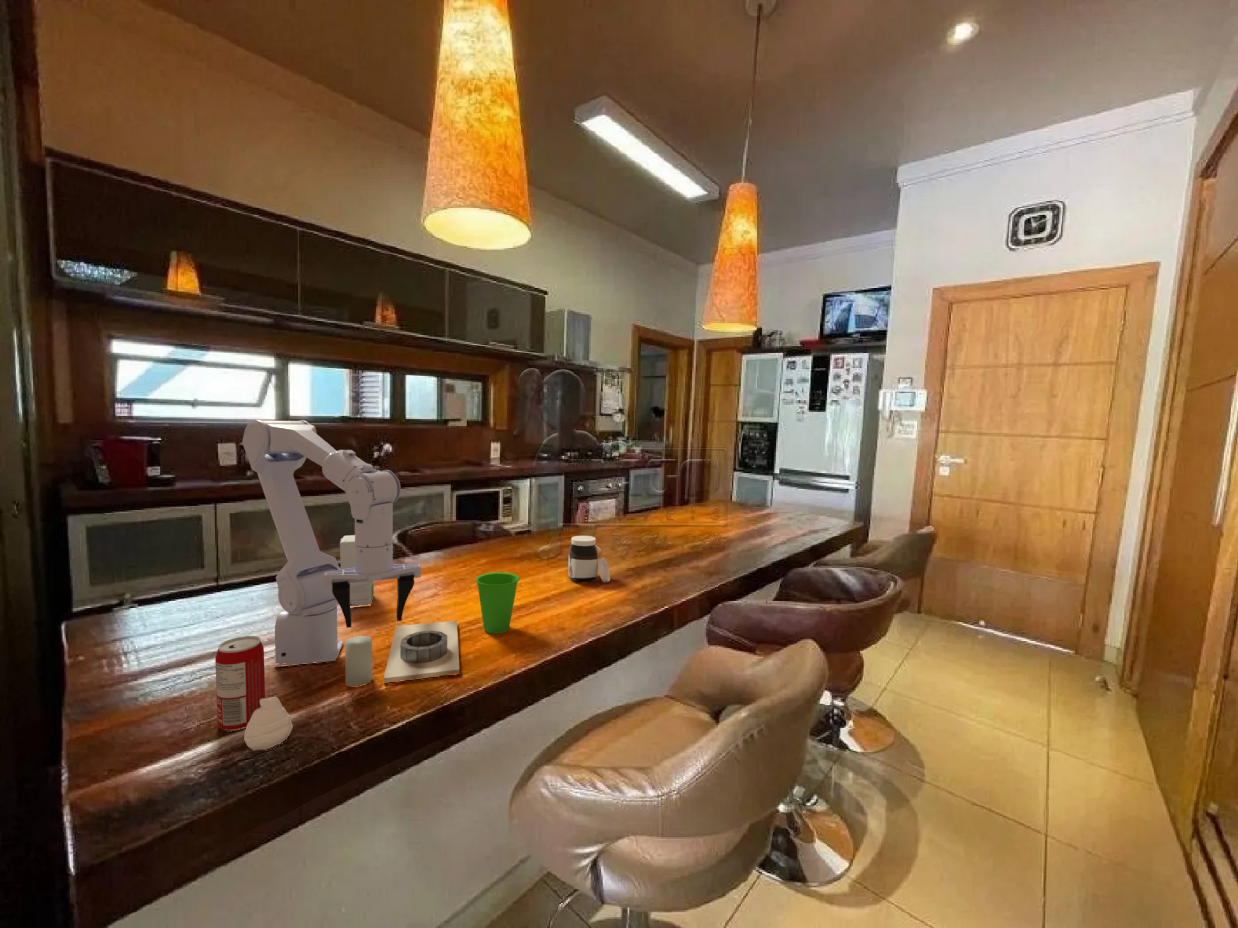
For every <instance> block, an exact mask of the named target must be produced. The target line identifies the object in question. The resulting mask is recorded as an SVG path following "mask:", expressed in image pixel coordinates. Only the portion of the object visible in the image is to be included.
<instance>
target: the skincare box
mask: <svg viewBox="0 0 1238 928" xmlns="http://www.w3.org/2000/svg"><path fill="white" fill-rule="evenodd" d="M339 555H340V561H339V562H340V569H341V570H342V569H348V568H354V567H355V534H353V535H344V536H343V537H342V538H340V541H339ZM374 587H375V585H374V581H365V582H355V583H350V606H359V605H368V604H372V605H373V602H372V600H373V601H374V597H373V594H374V595H375V593H374V591H375V590H374V589H375V588H374Z"/></svg>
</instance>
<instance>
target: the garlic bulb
mask: <svg viewBox="0 0 1238 928" xmlns="http://www.w3.org/2000/svg"><path fill="white" fill-rule="evenodd" d="M260 705H261V707H260V708H258V709H256V710H255V711H254V713H253V714H252V717H251V719H250V721H249V722H248V724H247V727H246V729H244V736H243V739H244V742H245V744H246V746H247V747H248V748H249V749H251V750H252V749H266V748H270V747H273V746H275V745H277V744H280V743H281V742H283V741H284V740H285V739H286V740H287V739H288V737H289V736H290V734H291V733H292V731H293V727H294V725H293V723H292V716H291V715H290V713H289V712H287V710H286V708H285V707H284V706H283V704H282V702H281V701H280V699H279V697H277V696H272V697H268V698H266V697H265V698H262V699H260Z"/></svg>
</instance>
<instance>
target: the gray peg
mask: <svg viewBox="0 0 1238 928" xmlns="http://www.w3.org/2000/svg"><path fill="white" fill-rule="evenodd" d="M344 655H345V657H344V658H345V659H344V664H345V665H344V666H345V667H344V670H345V671H344V672H345V685H346V684H347V685H349V686H360V685H363V684H366V683H368V682H369V681H371V680H372V681H373V638H372V637H371V636H368V635H359V636H358V635H357V636H354V637H351V638H347V640H346V641H345V642H344ZM372 681H371V682H372Z"/></svg>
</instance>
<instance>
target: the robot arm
mask: <svg viewBox="0 0 1238 928" xmlns="http://www.w3.org/2000/svg"><path fill="white" fill-rule="evenodd" d="M242 446H243V449H244V451H245V454H246V458H247V460H248V463H249V465H250V468H251V470H252V471H254V472H256V473H257V476H258V479H259V482H260V485H261V488H262V490H263V491H262V492H263V494H264V497H265V499H266V502H267V505H268V508H269V512H270V514H271V517H272V520H273V523H274V525H275V526H274V527H275V528H276V531H277V534H278V537H279V540H280V543H281V545H282V549H283V552H284V555H285V556H286V557H285V558H286V560H287V562H286V563H285V565H284V566H283V567H282V568H281V569H280V571H279V572H278V574H277V575H276V576H275V580H276V584H277V590H278V591H277V598H278V601H279V604H280V606H281V608H282V609H283V610H280V611H279V612H278V614H277V616H276V619H275V626H274V647H275V649H274V650H275V651H274V653H275V657H274V658H275V659H274V660H275V663H279V664H278V665H292V664H303V663H313V662H326V661H334V660H335V661H337V659H336V658H338V657H339V654H340V652H339V651H341V650H340V649H342V647H343V645H344V641H343V640H338V605H339V607H340V609H341V611H342V614H343V617H344V620H345V625H346V626H345V627H346V629H348V628H352V611H351V608H350V583H355V582H365V581H373V582H374V581H384V580H394V579H397V580H396V581H397V583H396V584H397V601H396V622H400V621H403V620H402V618H403V614H404V613H403V612H404V609H405V606H406V602H407V601H408V598H409V596H410V594H411V592H412V590H413V588H414V585H415V579H417V578H421V575H422V572H421V571H422V569H421V567H422V566H421V564H420V563H406V564H405V563H401V564H400V563H394V558H393V556H394V555H393V554H394V551H393V548H394V547H393V544H394V543H393V542H394V540H393V539H394V537H393V536H394V535H393V533H394V532H393V531H394V530H393V529H394V527H393V522H394V520H393V518H394V517H393V516H394V515H393V511H394V510H393V507H394V503H396V502H397V501H398V500H399V498H400V496H401V492H402V491H401V483H400V480H399V478H398V476H397V475H396V474H395V473H393V471H392V470H389V469H383V470H379V469H376V468H374V465H372V464H371V463H367V462H365V461H363V459H361V458H359V457H358V456H357V455H356V452H355V451H354V450H352V449H346V450H345V449H339V450H336V449H335V448H334V447H333V446H331V444H330V443H328V442H327V441H325V440H324V439H323V438H322V437H321V436H320V435H318V434H317V428H316V426H315V425H312V424H310V423H309V422H308V421H306V420H301V419H300V420H260V419H254V420H250V421H249V423H248V424H247V425H246V427H245V429H244V431H243V437H242ZM307 459H309V460H310V461H312V462H314V463H315V464H317V465H319V466H320V467H322V468H321V470H322V471H321V472H322V475H323V476H324V477H325V478H326V479H327V480H328V481H330V482H331V483H332V484H334V485H335V486H337V487H338V488H339V489H340V490H343V491H344V492H345V496H346V499H347V501H348V503H349V506H350V515H352V516H351V517H352V519H354V535H355V567H354V568H348V569H342V570H341V566H339V564H338V561H337V559H336V557H334V556H331V555H329V554H327V553H324V552H322V551H321V550H320V547H319V545H318V541H317V539H316V536H315V534H314V530H313V527H312V524H311V522H310V519H309V515H308V513H307V510H306V508H305V505H304V502H303V499H302V495H301V494H300V491H299V488H298V485H297V482H296V480H295V476H294V473H295V471H296V470H297V469H299V468H300V469H301V468H302V466H303V464H304V463H305V461H306V460H307ZM337 642H338V643H337ZM342 644H343V645H342ZM335 661H334V662H335ZM275 663H274V665H276V664H275ZM283 663H286V664H283ZM326 663H327V662H326Z"/></svg>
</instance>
